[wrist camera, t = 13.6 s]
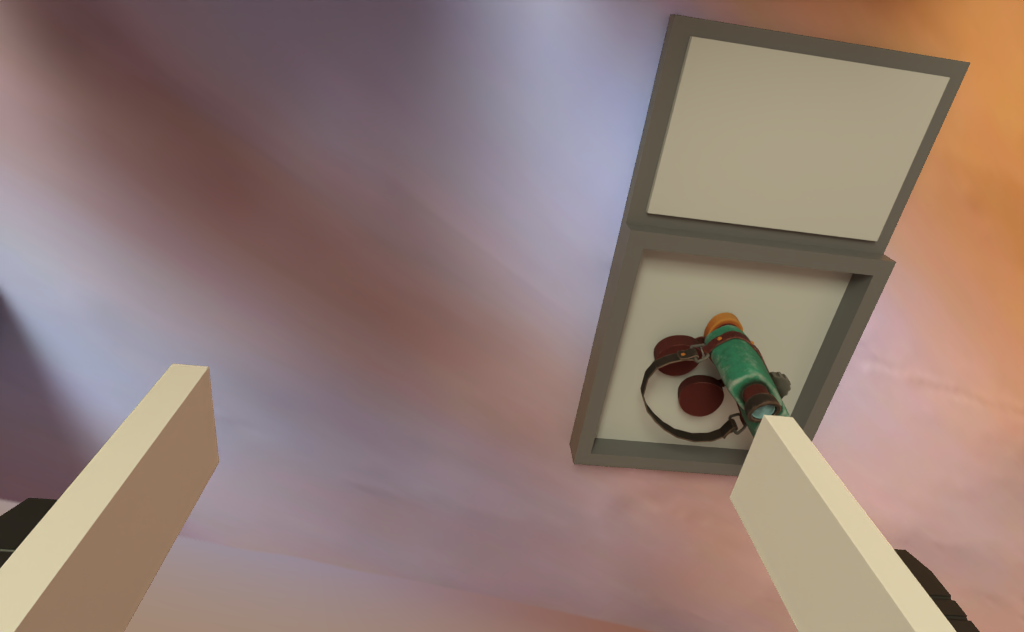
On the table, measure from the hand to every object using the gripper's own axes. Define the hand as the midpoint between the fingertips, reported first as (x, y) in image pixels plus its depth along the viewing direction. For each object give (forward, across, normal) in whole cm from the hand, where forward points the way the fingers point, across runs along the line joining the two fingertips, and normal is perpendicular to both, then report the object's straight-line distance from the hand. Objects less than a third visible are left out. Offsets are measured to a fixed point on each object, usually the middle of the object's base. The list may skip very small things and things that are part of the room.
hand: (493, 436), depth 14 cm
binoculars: (+28, +19, -14) cm, 37 cm away
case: (+29, +20, -7) cm, 36 cm away
